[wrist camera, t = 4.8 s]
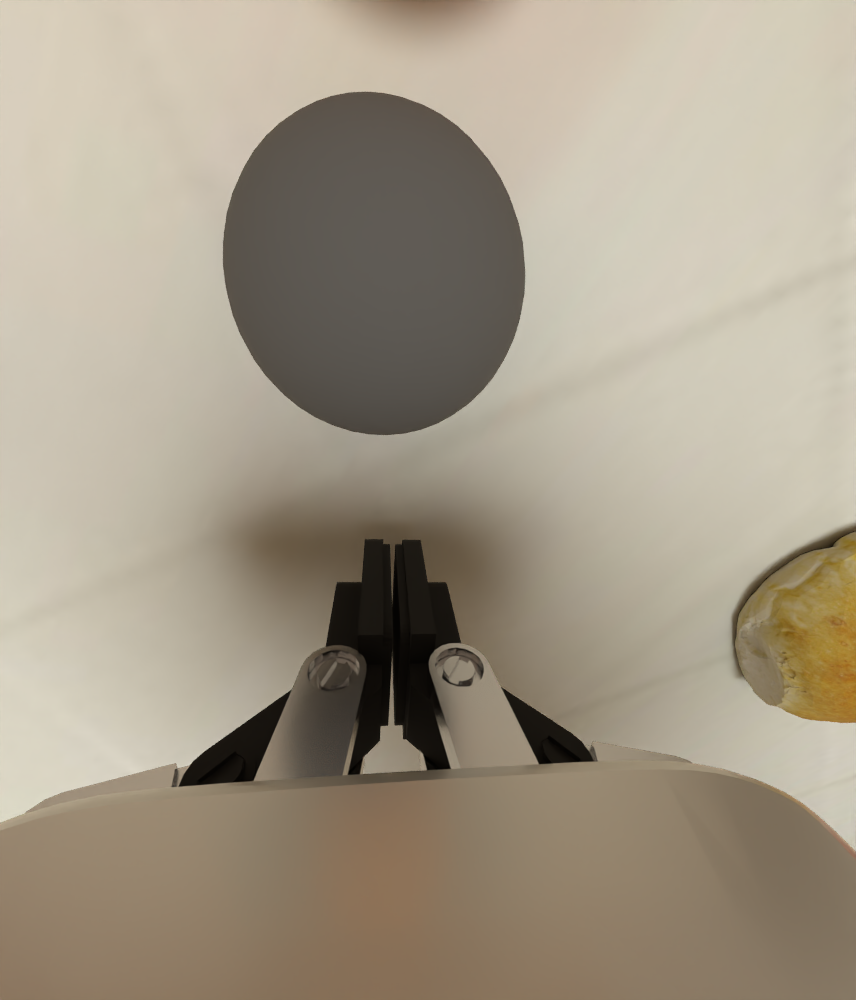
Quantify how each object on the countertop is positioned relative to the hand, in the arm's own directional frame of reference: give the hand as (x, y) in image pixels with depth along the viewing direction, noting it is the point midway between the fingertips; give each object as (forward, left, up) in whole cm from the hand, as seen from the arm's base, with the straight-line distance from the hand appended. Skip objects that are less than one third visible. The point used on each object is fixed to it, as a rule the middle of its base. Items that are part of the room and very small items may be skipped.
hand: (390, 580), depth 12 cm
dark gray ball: (+7, +4, +1) cm, 8 cm away
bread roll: (+6, -18, -2) cm, 19 cm away
